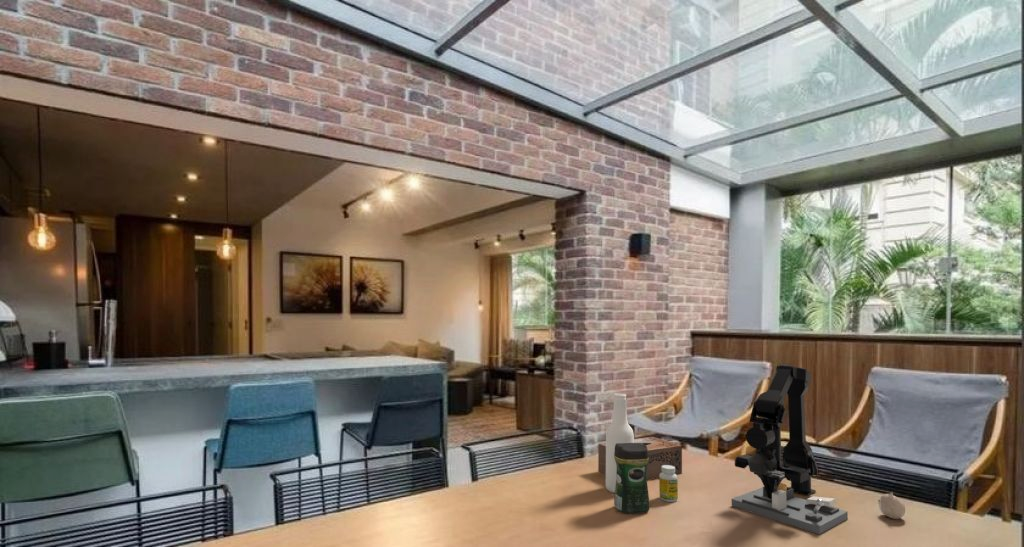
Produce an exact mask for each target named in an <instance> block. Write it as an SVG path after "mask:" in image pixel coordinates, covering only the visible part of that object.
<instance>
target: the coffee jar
mask: <svg viewBox="0 0 1024 547" xmlns="http://www.w3.org/2000/svg"><path fill="white" fill-rule="evenodd" d="M614 459H615V461H616V466H617V474H616V487H615V493H614V499H613V501H614V503H613V506H614V507H615V509H616V510H617V511H618V512H620V513H623V514H641V513H644V514H645V513H648V512H649V510H650V506H651V505H650V497H649V496H650V494H649V487H648V480H647V464H648V461H649V456H648V449H647V446H646V445H644V444H642V443H617V444H616V445H615V452H614Z"/></svg>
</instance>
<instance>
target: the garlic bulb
mask: <svg viewBox="0 0 1024 547" xmlns="http://www.w3.org/2000/svg"><path fill="white" fill-rule="evenodd" d="M877 503H878V507H879V510H880V512H881V513H882V514H883V515H884V516H886V517H888V518H891V519H892V520H899V519H902V518H903V517H904V516H905V514H906V506H905V503H904V502H903V501H902V500H901V499H899V498H898V497H897V496H895V495H894V493H893V491H890V492H888V493H885V494H883V495H881V496H880V499H878V502H877Z"/></svg>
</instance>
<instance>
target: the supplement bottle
mask: <svg viewBox="0 0 1024 547" xmlns="http://www.w3.org/2000/svg"><path fill="white" fill-rule="evenodd" d="M661 470H662V473H660V475H659V478H658V480H659V484H658V486H659V487H658V488H659V491H658V492H659V499H660V500H661V501H664V502H668V503H676V502H677V501H678V499H679V496H678V495H679V494H678V493H679V492H678V489H679V488H678V487H679V486H678V485H679V484H678V475H676V474H675V467H674V466H670V465H663V466H662V468H661Z"/></svg>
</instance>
